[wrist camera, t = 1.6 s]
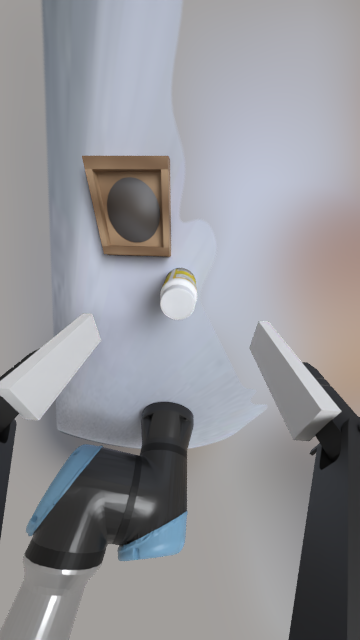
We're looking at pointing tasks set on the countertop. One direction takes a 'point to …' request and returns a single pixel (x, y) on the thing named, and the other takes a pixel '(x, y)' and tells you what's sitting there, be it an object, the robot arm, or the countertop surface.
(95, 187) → the dock board
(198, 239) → the countertop surface
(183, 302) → the supplement bottle
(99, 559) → the robot arm
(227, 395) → the countertop surface
